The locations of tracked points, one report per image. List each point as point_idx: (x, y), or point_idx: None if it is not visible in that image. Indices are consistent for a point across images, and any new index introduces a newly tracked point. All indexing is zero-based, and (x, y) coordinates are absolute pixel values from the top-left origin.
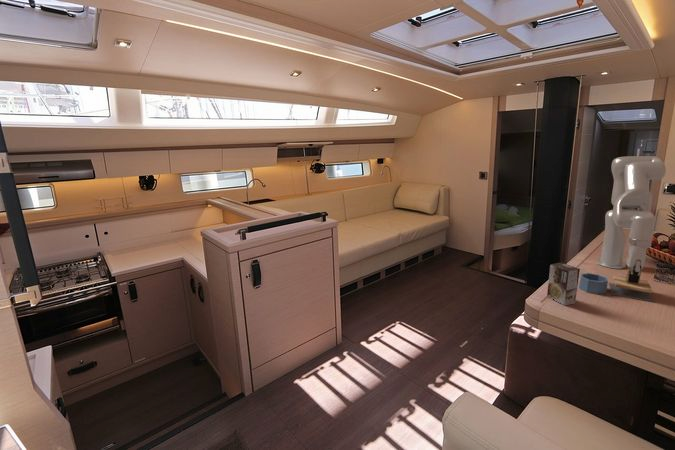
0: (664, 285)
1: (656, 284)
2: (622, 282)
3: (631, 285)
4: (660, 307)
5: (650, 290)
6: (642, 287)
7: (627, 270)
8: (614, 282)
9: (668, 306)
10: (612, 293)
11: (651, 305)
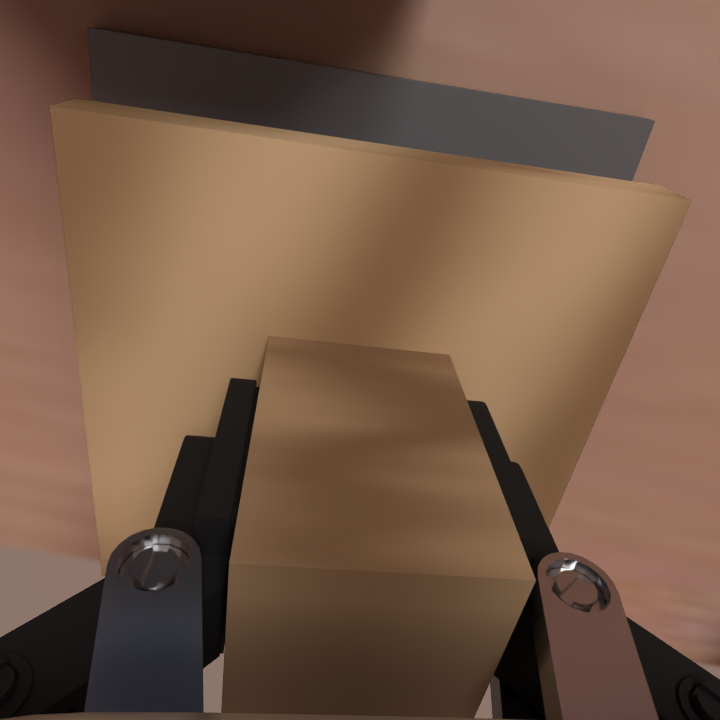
0: (666, 633)
1: (686, 594)
2: (280, 273)
3: (173, 381)
4: (4, 495)
5: (103, 554)
6: (161, 499)
7: (489, 518)
8: (369, 142)
9: (89, 554)
10: (117, 45)
11: (5, 437)
